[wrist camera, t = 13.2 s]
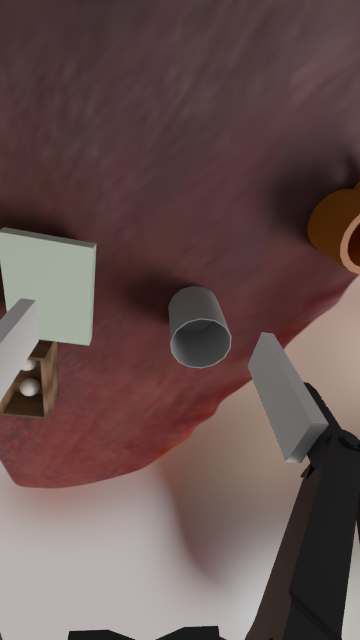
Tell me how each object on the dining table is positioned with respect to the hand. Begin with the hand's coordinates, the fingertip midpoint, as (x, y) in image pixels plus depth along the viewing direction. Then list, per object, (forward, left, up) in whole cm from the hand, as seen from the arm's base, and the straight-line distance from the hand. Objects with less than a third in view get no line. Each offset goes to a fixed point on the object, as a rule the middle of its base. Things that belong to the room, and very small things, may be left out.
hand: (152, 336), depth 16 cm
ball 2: (+31, -18, -24) cm, 43 cm away
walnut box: (+28, -18, -27) cm, 43 cm away
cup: (+12, +8, -27) cm, 31 cm away
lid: (+10, -13, -23) cm, 28 cm away
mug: (-7, +26, -27) cm, 38 cm away
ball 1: (+25, -18, -24) cm, 39 cm away
